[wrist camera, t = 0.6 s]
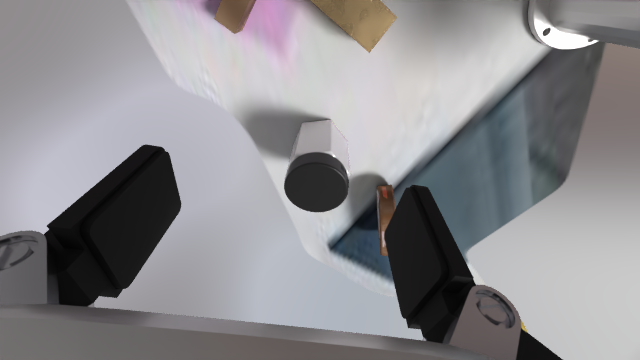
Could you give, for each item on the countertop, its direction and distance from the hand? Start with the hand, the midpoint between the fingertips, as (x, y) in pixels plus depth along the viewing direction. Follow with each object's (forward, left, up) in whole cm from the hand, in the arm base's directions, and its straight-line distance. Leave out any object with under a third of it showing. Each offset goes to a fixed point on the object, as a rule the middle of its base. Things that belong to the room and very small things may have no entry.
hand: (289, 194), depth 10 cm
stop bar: (-6, -1, -28) cm, 29 cm away
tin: (+15, +26, -29) cm, 41 cm away
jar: (+11, +8, -28) cm, 31 cm away
